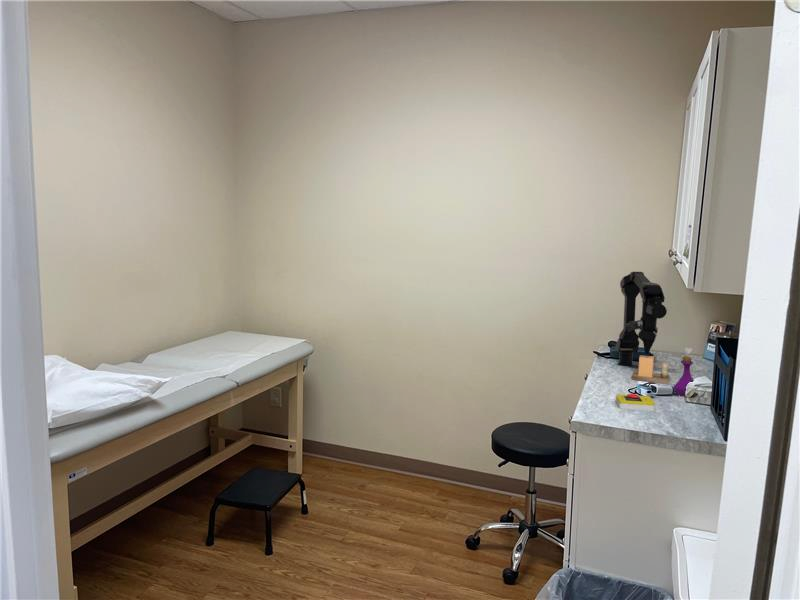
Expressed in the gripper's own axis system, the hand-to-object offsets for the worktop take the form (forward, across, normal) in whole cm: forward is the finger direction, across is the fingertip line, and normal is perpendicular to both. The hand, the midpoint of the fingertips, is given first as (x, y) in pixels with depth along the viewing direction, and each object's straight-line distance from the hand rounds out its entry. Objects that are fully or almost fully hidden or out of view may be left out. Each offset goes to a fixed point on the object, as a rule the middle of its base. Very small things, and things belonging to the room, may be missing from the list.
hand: (647, 352), depth 235 cm
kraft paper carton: (+10, 0, 0) cm, 10 cm away
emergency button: (+12, +43, 0) cm, 45 cm away
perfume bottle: (+11, +20, +15) cm, 27 cm away
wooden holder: (+11, 0, +2) cm, 11 cm away
